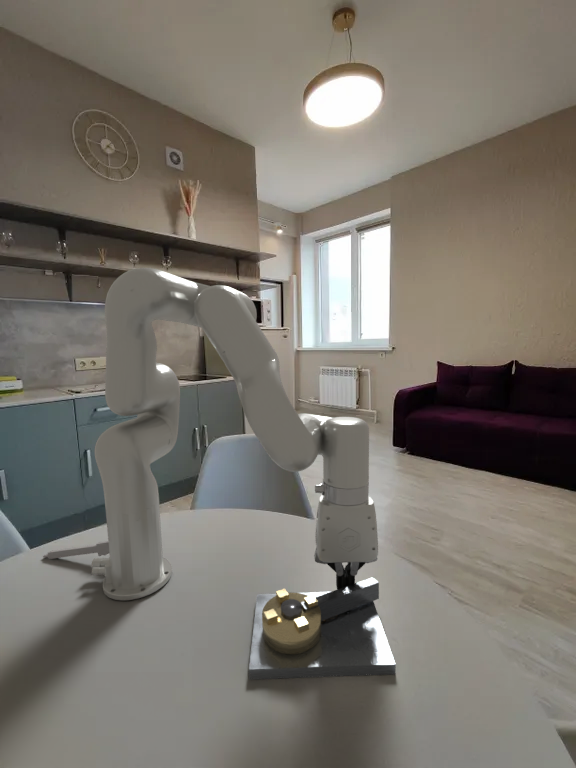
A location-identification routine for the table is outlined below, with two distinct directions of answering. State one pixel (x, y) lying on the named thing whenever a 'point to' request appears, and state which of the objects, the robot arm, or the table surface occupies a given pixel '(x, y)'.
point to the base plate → (326, 647)
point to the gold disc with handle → (309, 614)
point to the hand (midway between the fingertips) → (345, 592)
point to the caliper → (80, 551)
